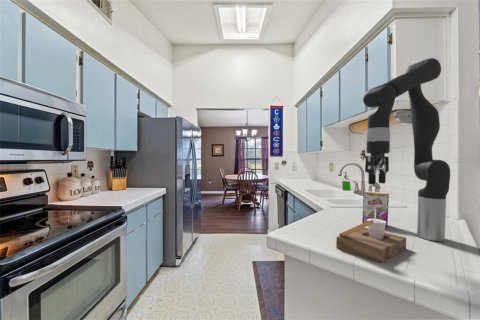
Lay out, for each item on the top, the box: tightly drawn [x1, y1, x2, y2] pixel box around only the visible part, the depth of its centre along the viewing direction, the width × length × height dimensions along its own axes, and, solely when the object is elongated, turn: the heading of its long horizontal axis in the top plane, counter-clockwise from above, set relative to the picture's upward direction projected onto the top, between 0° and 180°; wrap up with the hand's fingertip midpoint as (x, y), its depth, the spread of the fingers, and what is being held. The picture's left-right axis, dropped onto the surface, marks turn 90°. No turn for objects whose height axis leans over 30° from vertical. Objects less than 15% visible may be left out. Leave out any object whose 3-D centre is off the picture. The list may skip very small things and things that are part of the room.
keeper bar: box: [338, 220, 374, 237], centre depth 82 cm, size 3×13×1 cm
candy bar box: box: [361, 190, 390, 228], centre depth 118 cm, size 11×5×16 cm, turn 58°
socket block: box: [335, 227, 407, 264], centre depth 85 cm, size 22×15×4 cm
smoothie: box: [367, 209, 386, 241], centre depth 87 cm, size 6×6×14 cm
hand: (377, 183), depth 87 cm, fingers open, 8 cm apart
